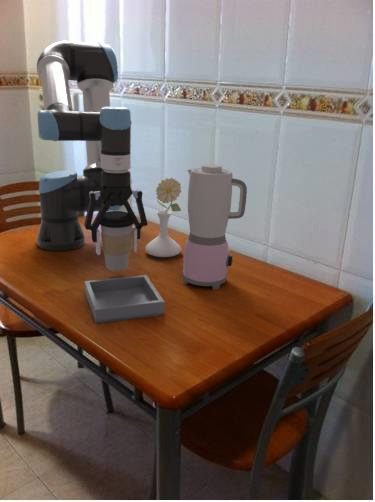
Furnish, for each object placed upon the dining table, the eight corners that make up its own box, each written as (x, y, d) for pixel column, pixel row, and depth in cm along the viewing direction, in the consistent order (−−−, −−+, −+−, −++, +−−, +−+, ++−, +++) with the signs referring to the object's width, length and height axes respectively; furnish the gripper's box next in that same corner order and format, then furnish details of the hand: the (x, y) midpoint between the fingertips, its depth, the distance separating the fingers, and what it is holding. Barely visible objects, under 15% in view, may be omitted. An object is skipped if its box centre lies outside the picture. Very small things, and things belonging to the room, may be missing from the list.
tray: (85, 293, 117) (84, 281, 116) (146, 287, 122) (146, 275, 121) (95, 323, 103) (95, 309, 102) (163, 314, 108) (164, 301, 107)
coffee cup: (127, 275, 122) (127, 222, 117) (93, 271, 124) (92, 218, 119) (137, 262, 131) (138, 212, 126) (106, 258, 133) (105, 208, 127)
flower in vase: (137, 252, 146) (138, 174, 138) (165, 245, 154) (167, 171, 145) (163, 265, 137) (165, 182, 129) (191, 257, 145) (195, 178, 136)
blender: (177, 286, 123) (181, 167, 112) (187, 270, 134) (192, 160, 123) (235, 294, 120) (246, 173, 109) (241, 277, 131) (251, 165, 120)
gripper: (73, 174, 111) (77, 260, 119) (161, 172, 118) (158, 253, 126) (70, 168, 117) (73, 249, 125) (153, 166, 125) (151, 243, 133)
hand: (116, 251), depth 126 cm, fingers closed on coffee cup, 9 cm apart
